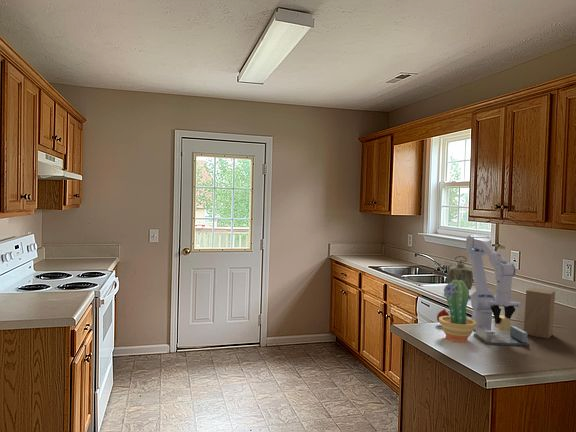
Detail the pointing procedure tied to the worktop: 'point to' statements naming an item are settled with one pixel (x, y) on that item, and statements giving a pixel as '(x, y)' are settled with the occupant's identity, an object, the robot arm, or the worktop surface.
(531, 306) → the wooden block
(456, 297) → the potted cactus
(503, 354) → the worktop surface
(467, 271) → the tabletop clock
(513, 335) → the block
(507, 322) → the brass block
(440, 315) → the pomegranate
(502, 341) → the vise
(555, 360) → the worktop surface
